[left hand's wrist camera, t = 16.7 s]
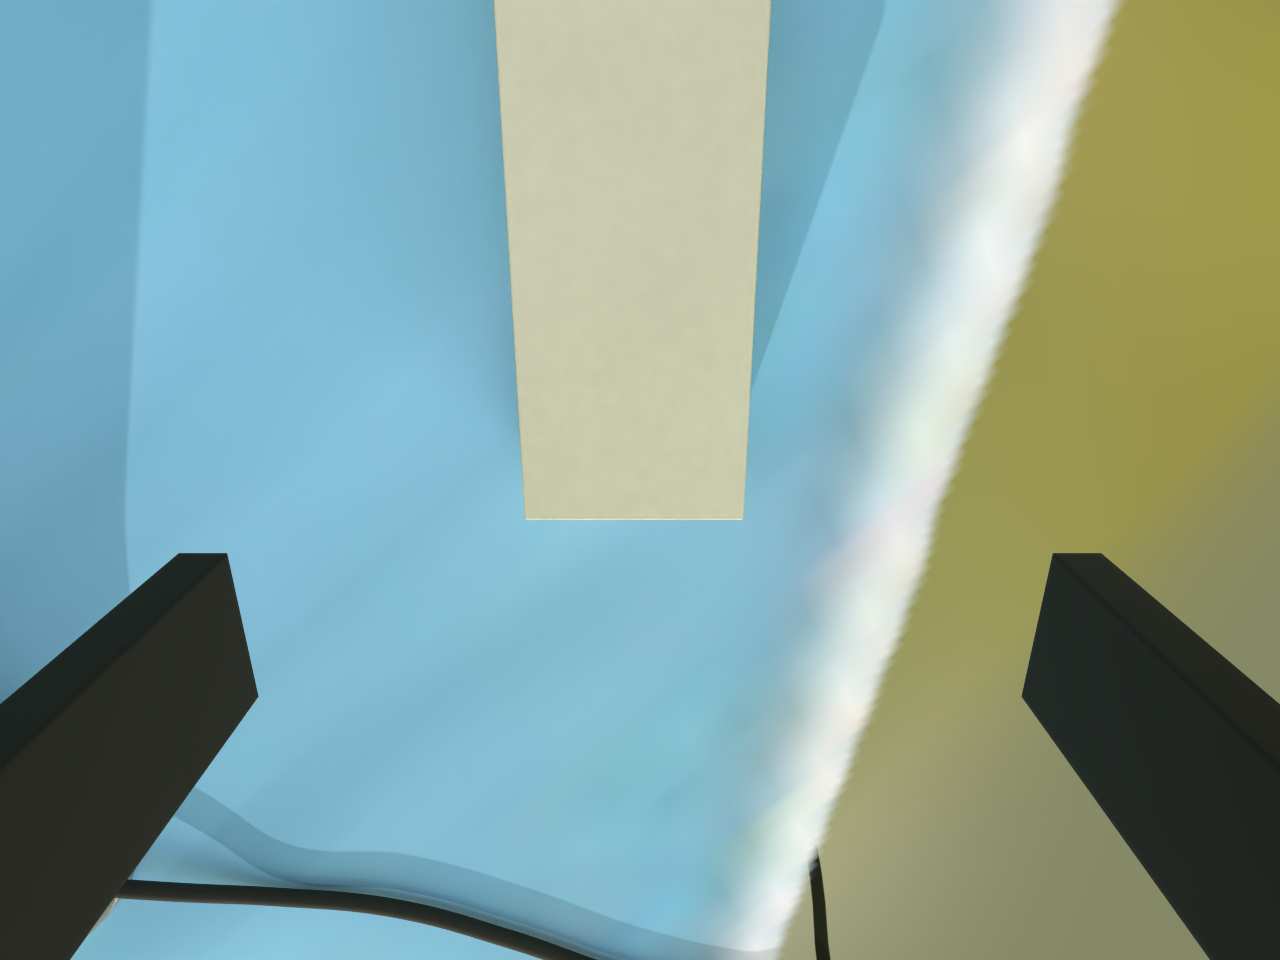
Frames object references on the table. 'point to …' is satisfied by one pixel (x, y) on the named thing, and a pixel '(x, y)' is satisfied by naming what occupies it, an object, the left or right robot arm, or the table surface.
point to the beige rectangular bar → (633, 249)
